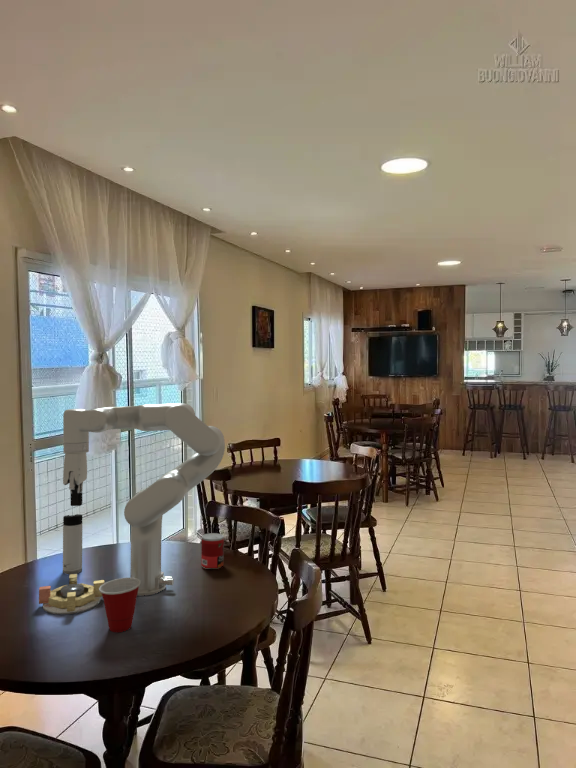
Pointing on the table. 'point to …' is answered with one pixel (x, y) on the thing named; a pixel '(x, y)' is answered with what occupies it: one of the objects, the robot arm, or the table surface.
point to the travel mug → (72, 544)
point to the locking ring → (70, 595)
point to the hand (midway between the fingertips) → (76, 505)
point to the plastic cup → (120, 602)
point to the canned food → (212, 550)
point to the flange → (64, 590)
